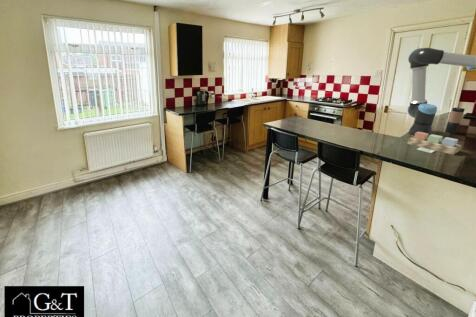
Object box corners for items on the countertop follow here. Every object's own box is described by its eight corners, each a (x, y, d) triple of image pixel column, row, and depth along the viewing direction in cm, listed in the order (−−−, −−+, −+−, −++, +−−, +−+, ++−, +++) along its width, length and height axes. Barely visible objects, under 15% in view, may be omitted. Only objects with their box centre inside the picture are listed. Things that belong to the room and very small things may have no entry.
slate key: (441, 145, 159) (443, 138, 157) (444, 144, 163) (446, 137, 161) (452, 148, 155) (455, 140, 153) (455, 146, 158) (458, 139, 156)
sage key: (426, 142, 165) (429, 135, 163) (429, 141, 168) (432, 134, 167) (437, 145, 161) (439, 137, 159) (440, 143, 164) (442, 136, 162)
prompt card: (416, 149, 160) (417, 148, 160) (420, 148, 164) (420, 146, 163) (431, 153, 154) (431, 151, 154) (434, 151, 158) (435, 150, 157)
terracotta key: (413, 139, 171) (415, 132, 169) (416, 138, 174) (418, 131, 173) (423, 141, 167) (425, 134, 165) (426, 140, 170) (428, 133, 168)
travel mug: (458, 133, 203) (467, 109, 196) (449, 133, 203) (457, 109, 196) (451, 131, 210) (459, 107, 203) (442, 130, 210) (450, 107, 203)
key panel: (407, 143, 172) (408, 138, 170) (413, 141, 179) (415, 135, 177) (453, 154, 153) (455, 148, 151) (459, 151, 160) (461, 145, 158)
